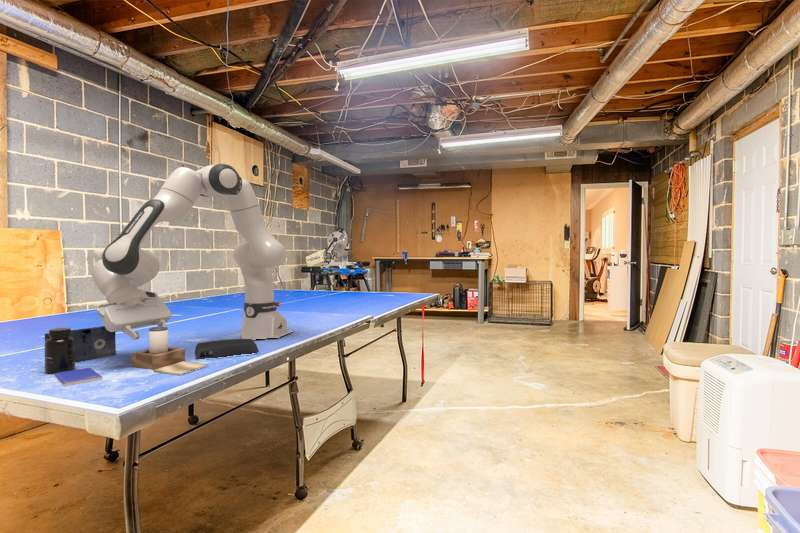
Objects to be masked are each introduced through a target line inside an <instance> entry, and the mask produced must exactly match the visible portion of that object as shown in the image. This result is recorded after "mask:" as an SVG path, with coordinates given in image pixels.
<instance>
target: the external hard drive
mask: <svg viewBox="0 0 800 533" xmlns="http://www.w3.org/2000/svg"><path fill="white" fill-rule="evenodd" d="M194 349H195V350H194V358H195V360H196V359H205V358H217V359H219V358H218V357H227V356H233V355H241V354H252V353H257V352H259V353H260V350H259V348H258V345H257V344H256V342H255V340H252V339H242V338H233V339H232V338H231V339H218V340H209V341H203V342H198V343H196V345H195V348H194Z"/></svg>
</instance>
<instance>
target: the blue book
mask: <svg viewBox="0 0 800 533" xmlns="http://www.w3.org/2000/svg"><path fill="white" fill-rule="evenodd" d="M55 377H56V378H57V379H56V378H55ZM54 378H55V379H56V380H57V381H58V382H59V384H61V386H62V387H63V386H64V387H69V386H73V385H80V384H86V383H90V382H91V383H92V382H95V381H101V380H103V376H102V375H101V374H99V373H98V372H97V371H96V370H94V369H93V368H92V367H85V368H78V369H73V370H71V371H65V372H59V373H55V374H54Z"/></svg>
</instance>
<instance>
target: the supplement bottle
mask: <svg viewBox="0 0 800 533" xmlns="http://www.w3.org/2000/svg"><path fill="white" fill-rule="evenodd" d="M71 330H72V329H71V328H70V327H57V328H51V329H49V330H48V333H49V337H50V339H48V340H47V341H46V342H45V341H44V372H45V373H46V374H54V373H59V372H65V371H72V370H75V368H76V363H75V339H74V338H72V337H70V335H71ZM54 375H55V374H54Z"/></svg>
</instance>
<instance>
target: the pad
mask: <svg viewBox="0 0 800 533" xmlns="http://www.w3.org/2000/svg"><path fill="white" fill-rule="evenodd" d="M207 365H208V366H209V364H206V363H205V364H204V363H198V362H189V361H185V362H179V363H176V364H172V365H169V366H165V367H162V368H158V369H155V370H153V369H152V370H153V373H156V372H158V373H159V374H164V373H171V374H170V375H172V374H182V373H186V372H189V371H192V370H195V369H198V368H202V367H205V366H207ZM205 368H206V367H205ZM202 369H203V368H202Z"/></svg>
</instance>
